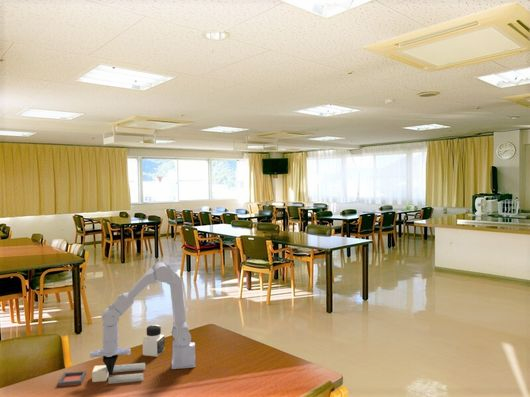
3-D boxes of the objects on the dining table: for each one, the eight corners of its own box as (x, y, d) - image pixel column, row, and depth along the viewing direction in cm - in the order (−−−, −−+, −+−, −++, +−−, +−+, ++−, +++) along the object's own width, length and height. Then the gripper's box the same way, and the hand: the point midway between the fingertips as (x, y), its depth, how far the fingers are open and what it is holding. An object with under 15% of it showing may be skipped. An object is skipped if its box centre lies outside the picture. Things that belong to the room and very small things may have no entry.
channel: (145, 368, 167) (145, 362, 167) (143, 380, 157) (142, 374, 157) (112, 371, 164) (112, 365, 164) (108, 383, 154) (108, 377, 154)
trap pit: (86, 374, 162) (85, 370, 162) (81, 384, 154) (81, 380, 154) (64, 376, 160) (64, 372, 160) (58, 386, 152) (58, 382, 152)
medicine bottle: (157, 357, 178) (157, 329, 177) (142, 355, 179) (142, 328, 179) (164, 350, 185) (164, 324, 184) (150, 348, 186) (150, 322, 186)
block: (108, 374, 162) (108, 364, 161) (106, 380, 157) (106, 370, 156) (95, 375, 161) (94, 365, 160) (92, 382, 156) (92, 371, 156)
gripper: (88, 345, 153) (88, 380, 154) (128, 342, 156) (129, 377, 157) (92, 338, 160) (92, 371, 161) (131, 335, 163) (131, 368, 164)
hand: (111, 373), depth 159 cm, fingers closed
